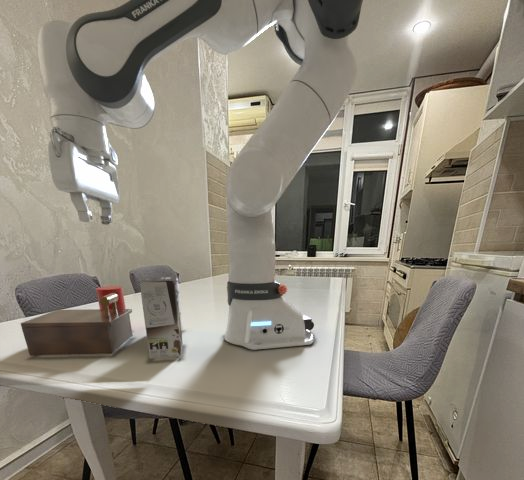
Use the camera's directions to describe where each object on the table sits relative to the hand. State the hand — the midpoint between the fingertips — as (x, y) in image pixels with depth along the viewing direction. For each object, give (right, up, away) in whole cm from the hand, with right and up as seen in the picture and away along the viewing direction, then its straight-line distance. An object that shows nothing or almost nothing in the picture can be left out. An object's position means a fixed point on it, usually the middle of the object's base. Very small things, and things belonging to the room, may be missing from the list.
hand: (97, 223), depth 59 cm
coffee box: (+13, -27, +4) cm, 30 cm away
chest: (-7, -25, +8) cm, 27 cm away
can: (-5, -21, +18) cm, 29 cm away
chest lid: (-6, -19, +5) cm, 21 cm away
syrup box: (+9, -22, +18) cm, 30 cm away
